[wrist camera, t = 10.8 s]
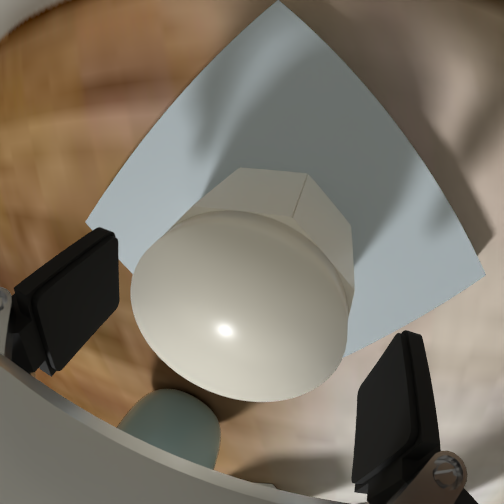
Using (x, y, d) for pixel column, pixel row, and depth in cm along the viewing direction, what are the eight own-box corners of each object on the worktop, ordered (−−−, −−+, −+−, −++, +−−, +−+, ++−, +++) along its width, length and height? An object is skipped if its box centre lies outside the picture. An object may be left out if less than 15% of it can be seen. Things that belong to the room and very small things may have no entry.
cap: (274, 135, 11) (227, 169, 7) (377, 259, 13) (390, 355, 8) (171, 232, 15) (100, 301, 10) (265, 327, 16) (233, 418, 11)
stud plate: (475, 259, 13) (518, 333, 8) (266, 374, 20) (244, 446, 15) (284, 9, 10) (250, -39, 5) (101, 211, 17) (33, 257, 12)
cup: (168, 360, 21) (99, 475, 13) (251, 418, 23) (211, 533, 14) (131, 391, 25) (76, 478, 17) (200, 438, 26) (160, 526, 18)
